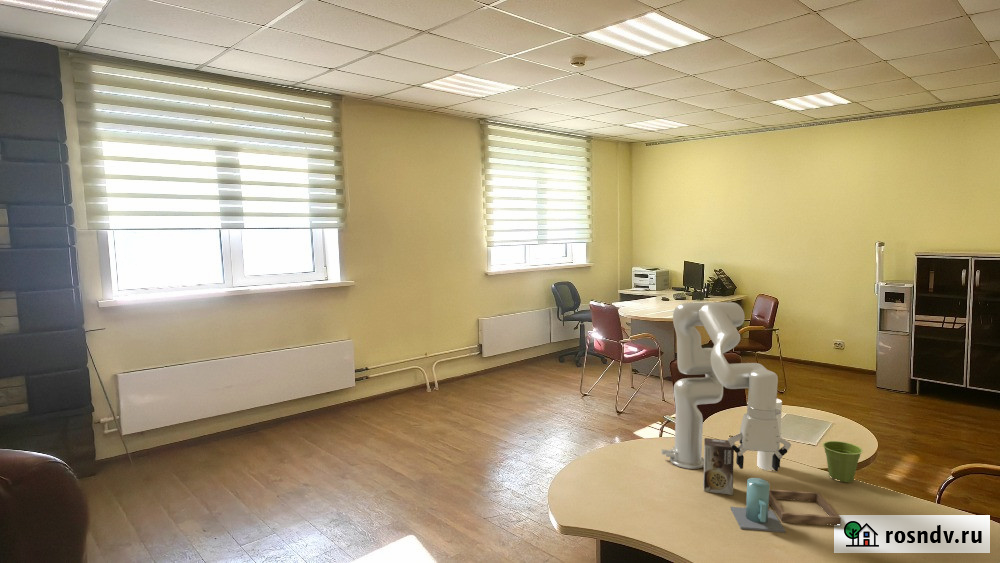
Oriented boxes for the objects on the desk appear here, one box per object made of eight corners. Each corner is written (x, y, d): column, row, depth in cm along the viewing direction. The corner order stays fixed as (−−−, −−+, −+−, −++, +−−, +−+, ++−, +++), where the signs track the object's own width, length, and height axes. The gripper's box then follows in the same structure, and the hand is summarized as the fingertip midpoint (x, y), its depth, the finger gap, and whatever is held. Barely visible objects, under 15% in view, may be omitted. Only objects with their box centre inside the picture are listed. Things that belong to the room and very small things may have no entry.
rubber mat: (740, 528, 161) (741, 527, 161) (730, 508, 173) (730, 506, 173) (785, 532, 160) (785, 530, 160) (771, 511, 171) (771, 509, 171)
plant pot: (826, 468, 202) (828, 438, 201) (864, 478, 194) (866, 447, 193) (816, 478, 194) (818, 447, 193) (855, 489, 186) (857, 456, 185)
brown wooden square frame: (781, 521, 165) (782, 513, 165) (765, 496, 181) (765, 489, 181) (840, 526, 163) (840, 518, 163) (818, 500, 179) (818, 492, 178)
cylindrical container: (782, 471, 200) (785, 403, 198) (762, 471, 200) (765, 403, 198) (773, 463, 207) (776, 397, 205) (753, 463, 207) (756, 396, 205)
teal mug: (743, 512, 170) (744, 477, 169) (764, 513, 169) (766, 478, 168) (751, 527, 161) (753, 491, 160) (774, 529, 160) (775, 492, 159)
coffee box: (731, 487, 188) (733, 440, 186) (733, 495, 182) (734, 447, 180) (702, 483, 191) (704, 437, 189) (703, 491, 185) (704, 444, 183)
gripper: (788, 409, 166) (784, 464, 168) (726, 406, 168) (723, 460, 171) (797, 418, 158) (793, 476, 161) (733, 415, 161) (729, 471, 163)
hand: (757, 468), depth 166 cm, fingers open, 9 cm apart
